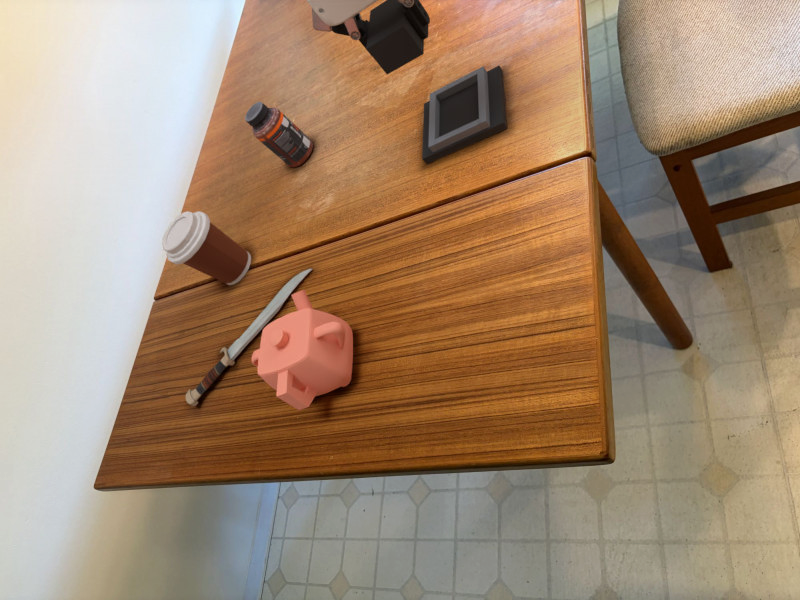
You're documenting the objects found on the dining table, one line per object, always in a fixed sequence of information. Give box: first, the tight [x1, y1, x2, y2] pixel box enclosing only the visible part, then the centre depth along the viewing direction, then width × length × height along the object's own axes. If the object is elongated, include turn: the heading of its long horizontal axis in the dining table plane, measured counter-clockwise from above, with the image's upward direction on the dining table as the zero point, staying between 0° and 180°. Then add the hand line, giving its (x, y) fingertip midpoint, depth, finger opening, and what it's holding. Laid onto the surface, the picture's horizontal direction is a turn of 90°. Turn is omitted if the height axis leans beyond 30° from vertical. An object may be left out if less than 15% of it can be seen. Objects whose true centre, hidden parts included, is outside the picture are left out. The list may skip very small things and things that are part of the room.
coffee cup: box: [161, 210, 252, 286], centre depth 89 cm, size 9×9×12 cm
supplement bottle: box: [244, 101, 314, 168], centre depth 93 cm, size 6×6×11 cm
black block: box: [365, 0, 425, 75], centre depth 63 cm, size 5×7×4 cm
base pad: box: [421, 65, 508, 165], centre depth 75 cm, size 12×11×2 cm
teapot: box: [251, 289, 354, 411], centre depth 66 cm, size 12×12×10 cm
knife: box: [185, 268, 313, 407], centre depth 82 cm, size 27×2×5 cm
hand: (404, 42), depth 64 cm, fingers closed on black block, 5 cm apart
